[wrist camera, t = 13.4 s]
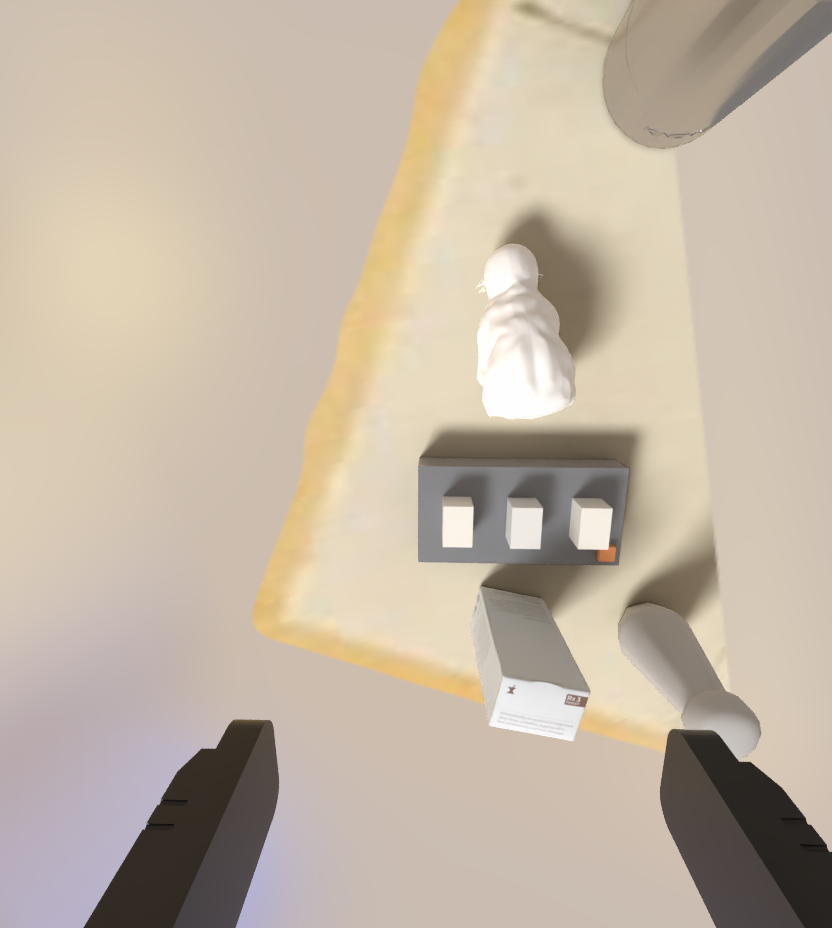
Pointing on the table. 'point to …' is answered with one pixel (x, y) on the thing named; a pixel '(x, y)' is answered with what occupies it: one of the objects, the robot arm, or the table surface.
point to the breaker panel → (495, 479)
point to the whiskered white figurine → (521, 341)
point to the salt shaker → (685, 675)
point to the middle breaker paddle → (524, 523)
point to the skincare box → (526, 666)
